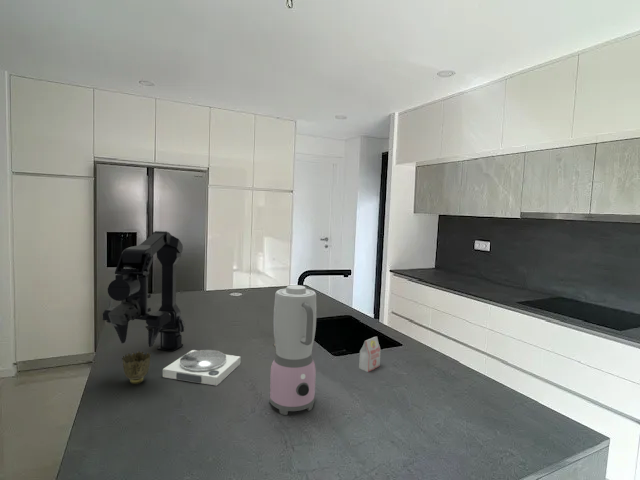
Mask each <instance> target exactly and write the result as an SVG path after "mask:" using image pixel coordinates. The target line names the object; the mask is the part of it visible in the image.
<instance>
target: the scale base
mask: <svg viewBox="0 0 640 480" xmlns="http://www.w3.org/2000/svg"><path fill="white" fill-rule="evenodd" d="M194 351H197V350H196V349H191V350H190V351H188V352H187V353H185V354H184V355H186V354H188V353H191V352H194ZM184 355H181V356H180V357H179V358H178V359H176V360H174V361H172V363H170V364H168V365H167V366H165V367H164V368H163V369H162V378H166V379H172V380H179V381H186V382H191V383H197V384H203V385H211V386H218V385H219V384H220V383H222V382H223V380H225V379H226V378H227V377H228V376H229V375H230V374H232V372H233V371H235V369H237V368H238V367H240V365H241V359H242V358H241V357H242V356H241V355H240V356H239V355H232V354H225V355H226V362H225V363H224V364H223V365H222V366H220V367H218V368H215V369H212V370H206V371H191V370H187V369H184V368H182V367H181V366H180V359H181V358H182V357H183V356H184Z"/></svg>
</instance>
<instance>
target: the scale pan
mask: <svg viewBox="0 0 640 480" xmlns="http://www.w3.org/2000/svg"><path fill="white" fill-rule="evenodd" d="M187 353H188V352H187ZM187 353H185V354H186V355H185V354H184V355H182V356H183V357H182V356H181V357H182V358H181V357H180V358H181V359H180V366H181V367H182V368H184V369H187V370H191V371H206V370H212V369H215V368H218V367H220V366H222V365H223V364H224V363H225V362H226V355H227V354H226V353H224V352H222V351H220V350H215V349H200V350H196V351H194V352H191V353H188V354H187Z"/></svg>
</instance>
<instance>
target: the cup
mask: <svg viewBox="0 0 640 480" xmlns="http://www.w3.org/2000/svg"><path fill="white" fill-rule="evenodd" d="M151 356H152V354H151V353H150V352H147V353H146V354H145V353H144V351H140V350H138V351H136V353H135V352H134V351H132V353H128V354H125V355H124V356H122V358H121V361H122V366H123V367H122V368H123V372H124V375H125V377H126V378H127V379H129V382H130V384H132V385H138V384H141V383H143V382H144V380H145V379H144V377H145V376H146V375H148V372H149V369H150V364H151V362H150V361H151Z"/></svg>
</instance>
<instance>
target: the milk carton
mask: <svg viewBox="0 0 640 480" xmlns="http://www.w3.org/2000/svg"><path fill="white" fill-rule="evenodd" d="M381 352H382V351H381V346H380V344H379V339H378V336H373V337H371V338H368V339H366V340H364V342H363V345H362V347H361V348H360V350H359V359H358V360H359V361H358V363H359V364H358V369H359V370H362V371H364V372H366V373H369V372H371V371H373V370H375V369H377V368H379V367H380V365H381Z"/></svg>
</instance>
